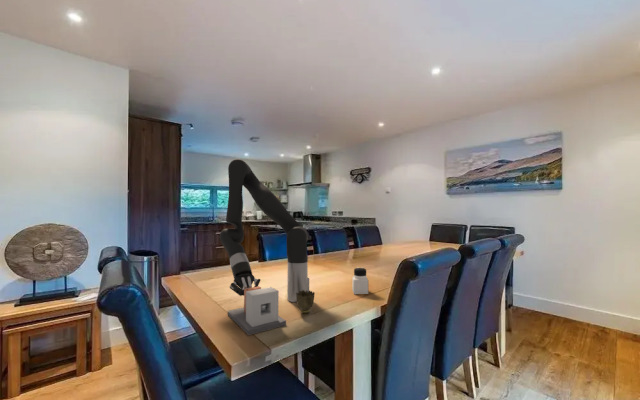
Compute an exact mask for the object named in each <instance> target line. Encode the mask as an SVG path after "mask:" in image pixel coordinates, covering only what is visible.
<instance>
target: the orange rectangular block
mask: <svg viewBox="0 0 640 400" xmlns="http://www.w3.org/2000/svg"><path fill="white" fill-rule="evenodd" d="M257 289H262V287H261V286H260V285H258V287H254V286H252V288H247V289H244V296H243V298H244V299H243V307H244V313H245V314H246V291H252V290H257ZM267 309H268V305H267V304H261V312H265V311H267Z"/></svg>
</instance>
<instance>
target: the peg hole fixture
mask: <svg viewBox="0 0 640 400" xmlns="http://www.w3.org/2000/svg"><path fill="white" fill-rule="evenodd" d="M261 304H267V305H268V309H267V311H265V312H261ZM227 316H228V317H229V318H230V319H231V320H232V321H233V322H234V323H235V324H236V325H238V327H240V329H241V330H243V332H244V333H246V335H247V336H251V335H254V334H255V335H256V334H258V333H262V332H267V331H269V330H273V329H277V328H279V327H284V326H287V320H286V319H284V318H283V317H281V316H280V315H279V290H278V289H276V288H273V287H272V286H270V287H269V286H268V287H263V288H261V289H257V290H252V291H246V314H245V313H244V306H243V307H239V308H235V309H231V310H227Z"/></svg>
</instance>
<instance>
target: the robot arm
mask: <svg viewBox="0 0 640 400" xmlns="http://www.w3.org/2000/svg"><path fill="white" fill-rule="evenodd" d="M227 171H228V173H227V174H228V199H227V207H226V208H227V209H226V216H225V222H226V223H228V224H231V225H233V226H234V228H224V229H222V230H221V231H220V233H219V241H220V243H221V245H222V247H223V248H224V249H225V251H226V252H227V255H228V258H229V264H230V270H231V272H232V275H233V282H231V283H230V285H229V289H230V290H231V291H233V292H234V293H236V294H237V295H238V296H240V297H242V296H243V297H244V289H247V288H253V287H258V286H260V285H259V284H260V283H261V278H258V279H257V278H256V277H255V276H254V275H253V270H252V267H251V264H250V261H249V258H248V256H247V254H246V251H245V248H244V245H243V244H241V243H243V241H244V238H245V234H244V228H243V222H242V221H243V213H244V210H243V209H244V200H243V199H244V198H243V187H244V188H245V189H246V190H247V192H248V193H249V194H250V196H251V198H252V199H253V201H254V203H255V204H256V205H257V206H258V207H259V209H260V210H261V211H262V212H263V214H265V215H266V216H267V217H268V218H269V219H270V220H272V221H273V223H276V224H277V225H278V226H279V227H280V228H282V230H283V231H284V233H285V234H286V258H287V290H286V291H287V295H286V297H287V301H288V302H291V303H297V297H296V292H297V293H299V291H302V290H304V291H305V292H306V291H308V292H309V291H310V278H309V277H308V276H309V274H308V272H309V271H308V270H309V269H308V267H309V266H308V262H309V261H308V259H309V258H308V253H307V252H308V250H307V249H308V248H307V247H308V246H307V245H308V240H309V232H308V231H307V229H306V228H305V227H303V225H302V224H300V223H299V222H298V221H297V220H296V219H295V218H294V217H293V215H291V214H290V212H289V211H288V210H287V208H286V207H285V205H284V204H283V203H282V202H281V201H280V200H279V198H278V197H277V196H276V195H275V194H274V193H273V192H272V191H271V189H269V188H268V187H267V186H266V185H264V183H263V182H261V181H260V179H258V177H257V176H256V174H255V173H254V171H252V169H251V167H250V166H249V164H248V163H247V162H245V161H244V159H243V160H242V159H240V158H235V159H233V160H231V161H230V162H229V164H228V169H227ZM253 285H254V286H253Z"/></svg>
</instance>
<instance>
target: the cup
mask: <svg viewBox="0 0 640 400" xmlns="http://www.w3.org/2000/svg"><path fill="white" fill-rule="evenodd" d="M315 293H316V292H315V291H312V290H309V292H308V291H306V292H305V291H304V290H302V291H299V293H297V292H296V297H297V302H296V303H297V307H298V309H300V312H301V314H304V315H307V314H310V312H311V310H310V309H312V308H313V305H314V303H315V302H314V301H315Z"/></svg>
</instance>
